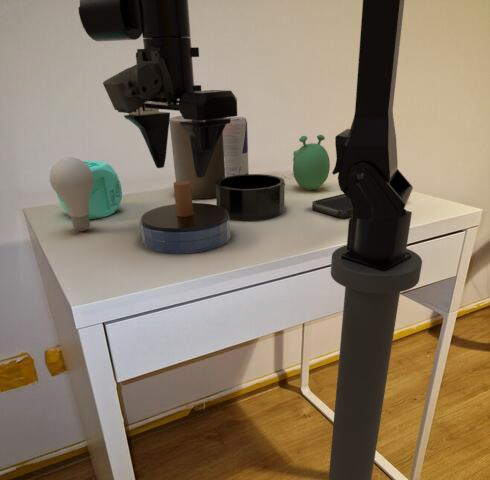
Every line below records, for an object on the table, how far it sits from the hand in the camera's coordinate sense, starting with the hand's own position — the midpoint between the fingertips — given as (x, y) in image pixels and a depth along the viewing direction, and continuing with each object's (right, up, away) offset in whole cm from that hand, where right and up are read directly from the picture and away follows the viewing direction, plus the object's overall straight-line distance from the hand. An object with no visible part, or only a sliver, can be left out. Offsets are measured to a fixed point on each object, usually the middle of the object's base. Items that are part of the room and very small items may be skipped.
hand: (179, 172), depth 64 cm
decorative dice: (-18, -1, +18) cm, 25 cm away
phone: (+28, 0, +16) cm, 33 cm away
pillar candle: (0, +5, +27) cm, 28 cm away
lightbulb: (-16, -6, +9) cm, 20 cm away
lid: (0, -6, +3) cm, 6 cm away
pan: (0, -8, +5) cm, 9 cm away
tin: (+10, -1, +16) cm, 19 cm away
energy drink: (+7, +11, +38) cm, 40 cm away
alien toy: (+22, +6, +28) cm, 36 cm away
